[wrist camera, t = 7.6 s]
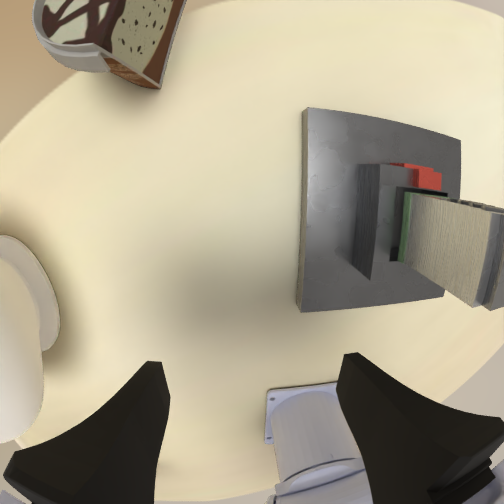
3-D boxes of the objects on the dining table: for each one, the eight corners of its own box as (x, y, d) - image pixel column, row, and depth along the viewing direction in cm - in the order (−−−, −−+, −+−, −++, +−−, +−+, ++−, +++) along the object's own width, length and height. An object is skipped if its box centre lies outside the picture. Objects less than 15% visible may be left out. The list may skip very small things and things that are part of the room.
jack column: (442, 258, 15) (519, 301, 8) (397, 260, 15) (479, 315, 8) (450, 195, 14) (537, 218, 7) (404, 190, 13) (501, 211, 7)
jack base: (434, 290, 21) (466, 313, 17) (296, 303, 21) (313, 340, 16) (449, 140, 17) (490, 139, 13) (301, 111, 17) (325, 92, 12)
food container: (125, -13, 12) (83, -76, 2) (194, -19, 13) (178, -99, 3) (83, 110, 15) (-8, 83, 6) (156, 108, 16) (88, 56, 6)
